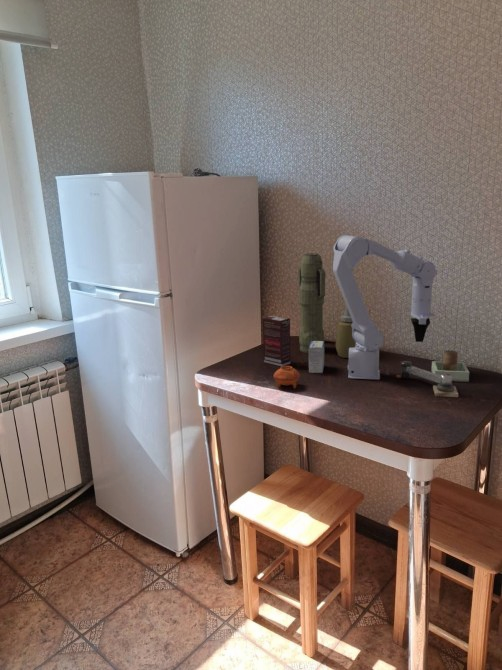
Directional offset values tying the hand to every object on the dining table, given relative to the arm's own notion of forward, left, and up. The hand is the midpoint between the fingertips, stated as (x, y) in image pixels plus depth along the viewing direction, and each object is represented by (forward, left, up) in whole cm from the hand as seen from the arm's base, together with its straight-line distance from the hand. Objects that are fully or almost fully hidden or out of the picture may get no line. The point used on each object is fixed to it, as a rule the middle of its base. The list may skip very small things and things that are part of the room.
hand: (419, 341), depth 169 cm
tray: (+9, -5, -9) cm, 14 cm away
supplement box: (-46, +1, -10) cm, 47 cm away
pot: (-39, -21, -10) cm, 46 cm away
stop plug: (+9, -5, -9) cm, 13 cm away
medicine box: (-32, -4, -10) cm, 34 cm away
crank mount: (+1, -15, -9) cm, 18 cm away
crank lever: (+1, -15, -9) cm, 17 cm away
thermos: (-36, +18, -10) cm, 41 cm away
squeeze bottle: (-23, +12, -10) cm, 28 cm away
